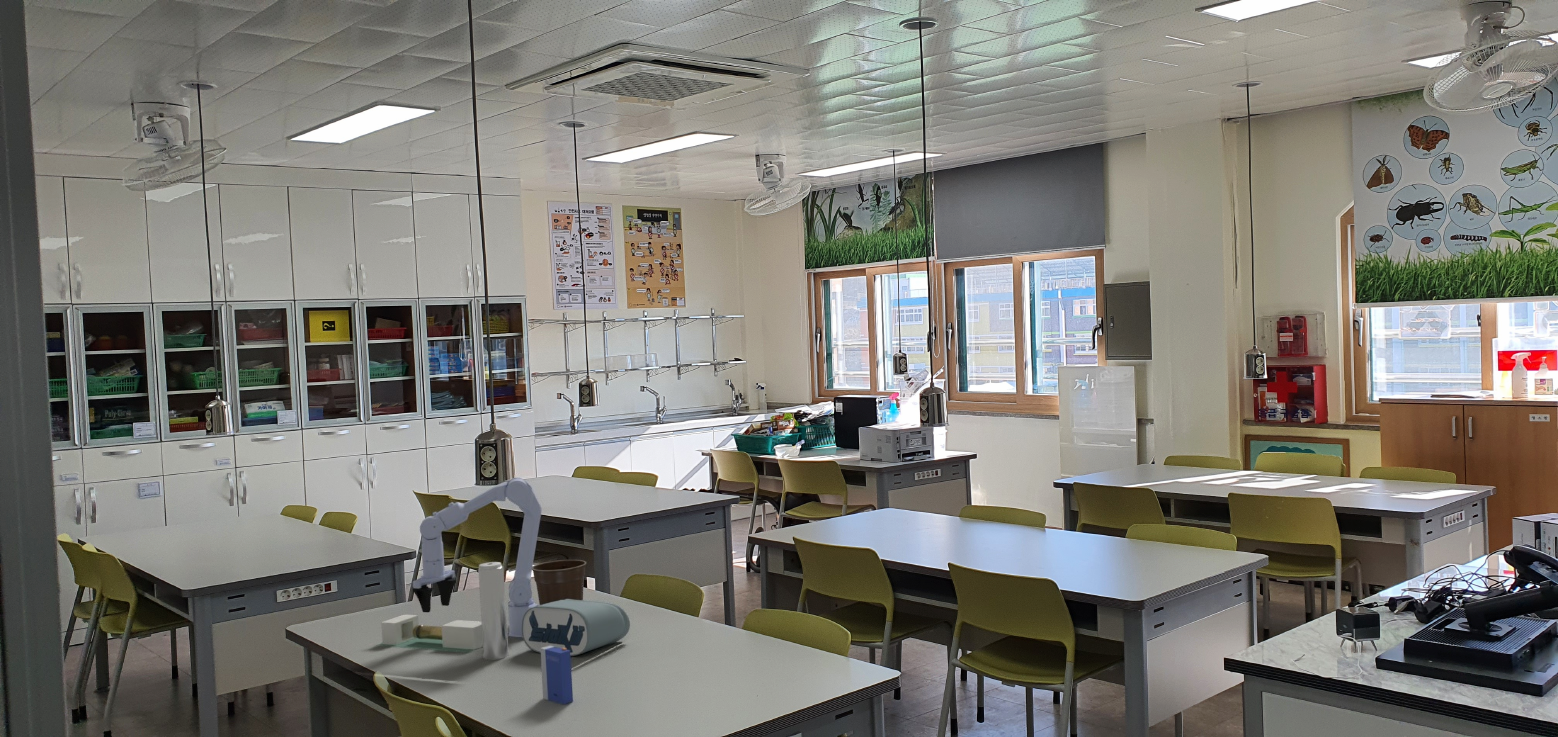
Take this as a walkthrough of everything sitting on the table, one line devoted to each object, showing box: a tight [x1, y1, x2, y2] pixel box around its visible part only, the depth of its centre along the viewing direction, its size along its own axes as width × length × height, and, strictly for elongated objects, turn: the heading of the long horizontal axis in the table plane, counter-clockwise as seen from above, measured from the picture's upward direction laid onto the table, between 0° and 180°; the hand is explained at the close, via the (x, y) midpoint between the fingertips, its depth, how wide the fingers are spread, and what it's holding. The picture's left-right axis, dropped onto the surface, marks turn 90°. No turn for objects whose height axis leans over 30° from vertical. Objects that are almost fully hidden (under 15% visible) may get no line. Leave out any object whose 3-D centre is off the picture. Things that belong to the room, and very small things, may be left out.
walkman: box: [540, 646, 574, 705], centre depth 249 cm, size 8×3×12 cm, turn 47°
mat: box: [376, 638, 483, 654], centre depth 304 cm, size 32×12×1 cm, turn 66°
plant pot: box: [532, 559, 587, 605], centre depth 328 cm, size 16×16×16 cm
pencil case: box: [522, 599, 631, 657], centre depth 293 cm, size 22×19×13 cm
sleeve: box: [441, 619, 483, 651], centre depth 300 cm, size 11×6×6 cm, turn 66°
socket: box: [381, 614, 420, 645], centre depth 309 cm, size 5×9×6 cm, turn 156°
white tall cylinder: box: [477, 561, 510, 661], centre depth 287 cm, size 6×6×25 cm
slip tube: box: [413, 624, 442, 640], centre depth 302 cm, size 21×4×4 cm, turn 66°
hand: (436, 608), depth 305 cm, fingers open, 7 cm apart
